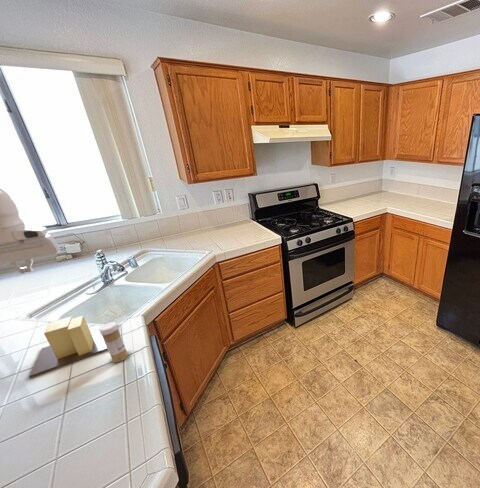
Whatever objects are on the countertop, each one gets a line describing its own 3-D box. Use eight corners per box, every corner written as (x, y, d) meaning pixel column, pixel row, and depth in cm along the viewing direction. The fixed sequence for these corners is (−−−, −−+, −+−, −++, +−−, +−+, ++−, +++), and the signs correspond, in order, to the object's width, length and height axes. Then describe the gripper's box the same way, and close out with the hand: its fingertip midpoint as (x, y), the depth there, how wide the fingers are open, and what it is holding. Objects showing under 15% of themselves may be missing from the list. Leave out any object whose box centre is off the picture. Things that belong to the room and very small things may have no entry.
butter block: (57, 359, 90) (43, 333, 87) (61, 347, 96) (49, 322, 92) (79, 351, 94) (67, 325, 90) (82, 340, 99) (71, 316, 95)
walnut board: (29, 378, 84) (28, 376, 84) (42, 349, 96) (41, 348, 96) (114, 347, 96) (113, 345, 95) (116, 326, 108) (115, 324, 108)
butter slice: (79, 355, 91) (66, 329, 88) (82, 343, 97) (70, 319, 94) (91, 351, 93) (80, 325, 89) (93, 340, 99) (83, 315, 95)
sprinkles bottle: (124, 351, 93) (111, 320, 89) (131, 355, 91) (119, 323, 87) (109, 360, 90) (95, 328, 85) (116, 364, 88) (103, 331, 83)
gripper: (-46, 244, 79) (-23, 285, 84) (47, 230, 90) (63, 267, 95) (-35, 239, 84) (-14, 278, 89) (52, 226, 95) (66, 261, 100)
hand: (26, 272), depth 92 cm, fingers closed
